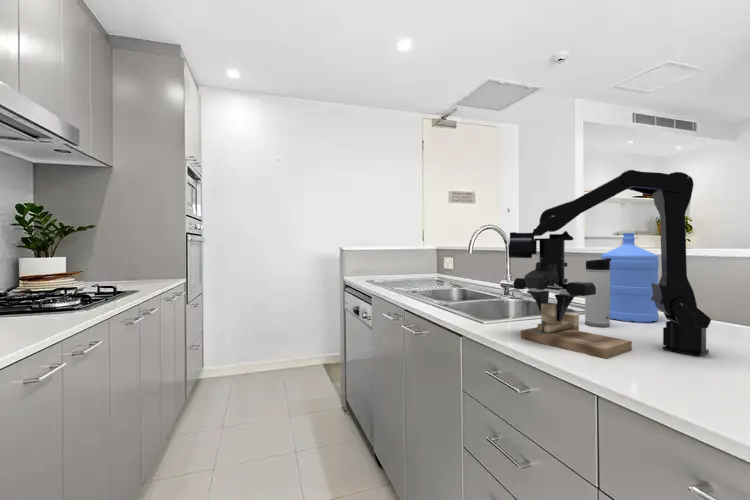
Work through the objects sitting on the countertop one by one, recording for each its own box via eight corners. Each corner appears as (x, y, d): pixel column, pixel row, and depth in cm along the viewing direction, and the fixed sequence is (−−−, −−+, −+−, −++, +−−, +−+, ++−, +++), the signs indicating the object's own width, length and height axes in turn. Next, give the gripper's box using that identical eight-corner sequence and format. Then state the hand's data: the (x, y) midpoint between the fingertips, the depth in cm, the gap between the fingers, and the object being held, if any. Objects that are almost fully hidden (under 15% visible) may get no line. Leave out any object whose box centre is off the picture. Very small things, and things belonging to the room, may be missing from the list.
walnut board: (631, 349, 81) (631, 340, 81) (605, 358, 74) (606, 348, 74) (547, 332, 98) (547, 324, 98) (520, 338, 91) (520, 330, 91)
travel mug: (614, 328, 103) (615, 258, 103) (589, 327, 104) (590, 258, 104) (605, 323, 109) (605, 258, 109) (581, 322, 110) (582, 257, 110)
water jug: (671, 323, 110) (672, 232, 109) (620, 323, 110) (620, 232, 109) (635, 313, 125) (635, 234, 125) (590, 313, 125) (590, 234, 125)
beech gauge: (578, 333, 93) (579, 302, 93) (552, 340, 86) (552, 306, 86) (560, 330, 97) (560, 300, 97) (533, 336, 91) (533, 303, 90)
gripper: (500, 258, 94) (500, 317, 94) (571, 260, 78) (571, 331, 78) (526, 257, 100) (525, 313, 100) (597, 259, 84) (596, 325, 84)
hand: (551, 319), depth 91 cm, fingers closed on beech gauge, 3 cm apart
